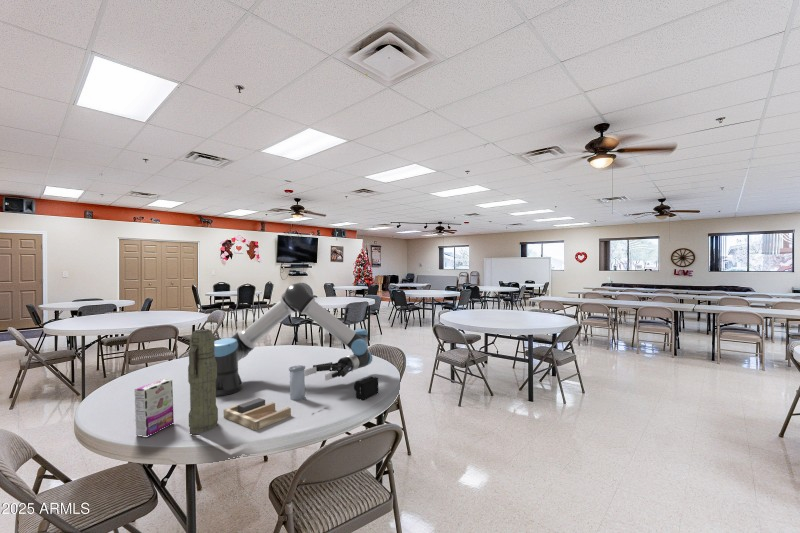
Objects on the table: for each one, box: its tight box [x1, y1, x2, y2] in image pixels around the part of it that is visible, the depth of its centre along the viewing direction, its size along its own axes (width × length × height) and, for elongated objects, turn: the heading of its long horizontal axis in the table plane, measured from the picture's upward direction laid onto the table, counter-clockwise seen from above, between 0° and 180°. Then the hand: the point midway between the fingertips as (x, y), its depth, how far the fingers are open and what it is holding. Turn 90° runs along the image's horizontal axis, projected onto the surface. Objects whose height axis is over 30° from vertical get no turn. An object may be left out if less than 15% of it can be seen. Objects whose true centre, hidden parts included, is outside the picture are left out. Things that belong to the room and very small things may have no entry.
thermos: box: [187, 328, 219, 436], centre depth 125 cm, size 9×12×35 cm
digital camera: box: [353, 376, 379, 401], centre depth 156 cm, size 10×5×7 cm, turn 146°
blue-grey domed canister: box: [288, 364, 307, 401], centre depth 152 cm, size 7×7×14 cm
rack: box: [223, 397, 292, 431], centre depth 133 cm, size 20×14×4 cm
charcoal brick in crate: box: [237, 397, 266, 414], centre depth 136 cm, size 4×9×4 cm, turn 145°
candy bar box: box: [134, 378, 175, 436], centre depth 125 cm, size 11×5×16 cm, turn 168°
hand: (315, 375), depth 159 cm, fingers open, 13 cm apart
